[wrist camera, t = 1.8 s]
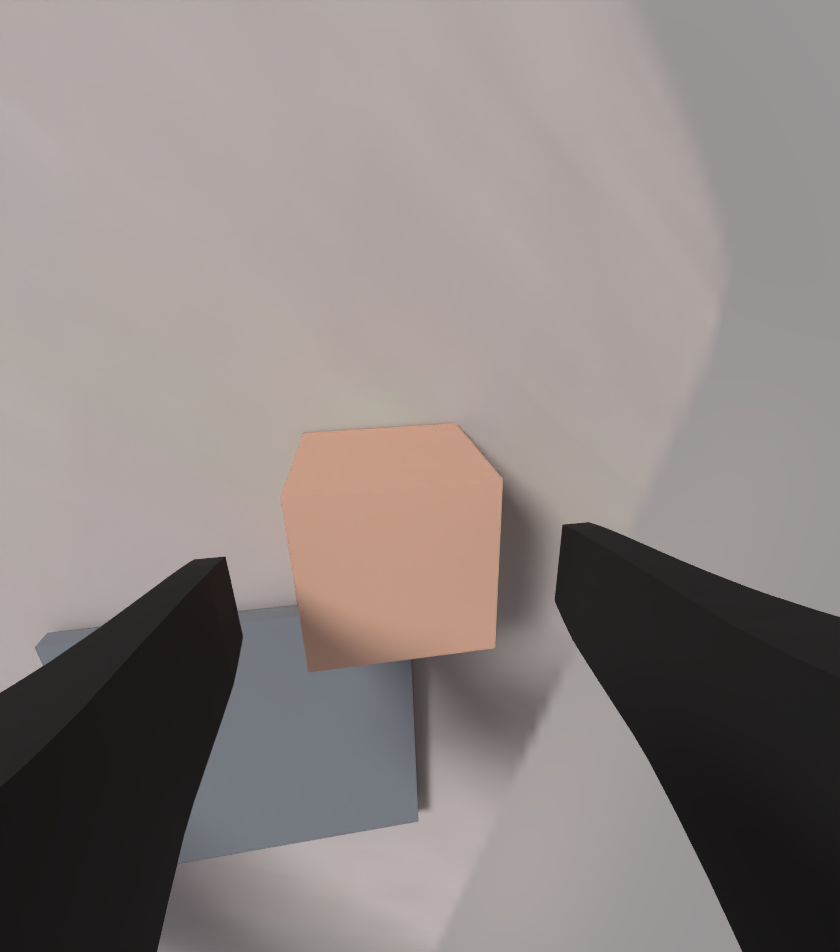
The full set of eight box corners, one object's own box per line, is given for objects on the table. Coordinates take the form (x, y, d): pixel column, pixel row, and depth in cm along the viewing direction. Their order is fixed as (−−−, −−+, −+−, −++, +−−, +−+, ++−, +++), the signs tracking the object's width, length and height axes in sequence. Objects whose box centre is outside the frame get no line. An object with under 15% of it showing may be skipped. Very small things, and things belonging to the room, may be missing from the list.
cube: (320, 565, 14) (308, 672, 10) (303, 433, 13) (280, 497, 8) (455, 552, 15) (494, 648, 11) (456, 423, 13) (503, 479, 9)
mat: (142, 853, 18) (135, 871, 17) (47, 633, 14) (34, 647, 13) (416, 806, 19) (418, 821, 18) (406, 592, 15) (408, 604, 14)
